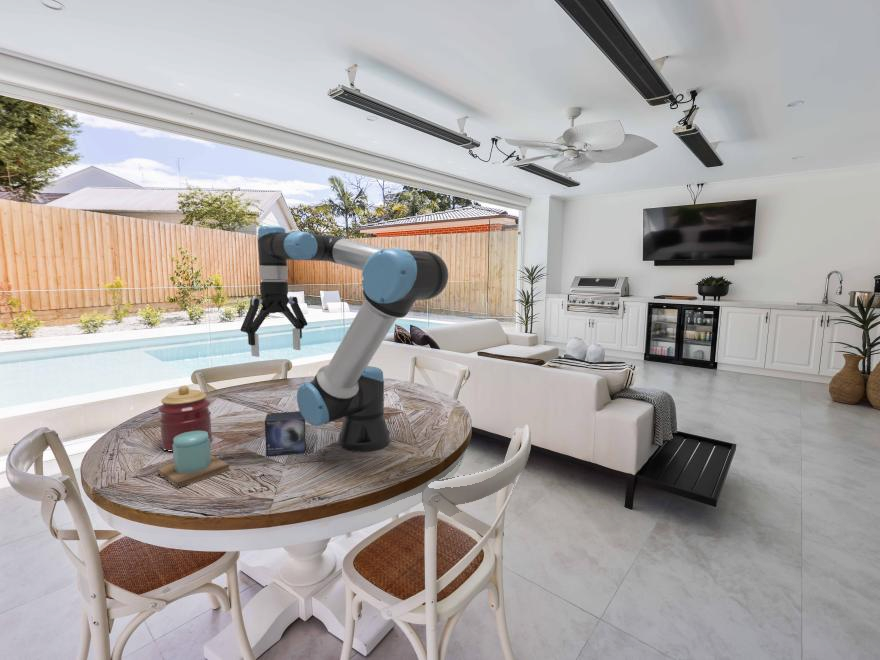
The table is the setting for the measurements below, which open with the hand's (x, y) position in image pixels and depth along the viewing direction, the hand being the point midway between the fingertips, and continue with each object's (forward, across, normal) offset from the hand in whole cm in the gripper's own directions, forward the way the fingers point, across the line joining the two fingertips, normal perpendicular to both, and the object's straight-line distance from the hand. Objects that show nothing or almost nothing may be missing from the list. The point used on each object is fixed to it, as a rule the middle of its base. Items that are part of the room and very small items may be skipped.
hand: (277, 352), depth 125 cm
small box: (+27, +4, +9) cm, 29 cm away
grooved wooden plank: (+27, +26, +2) cm, 37 cm away
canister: (+27, +19, -18) cm, 38 cm away
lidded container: (+25, +26, +2) cm, 36 cm away
